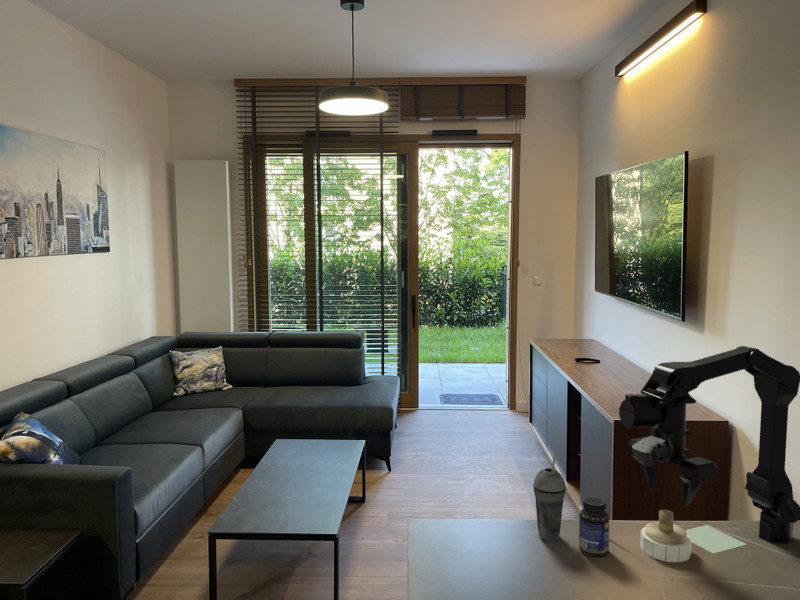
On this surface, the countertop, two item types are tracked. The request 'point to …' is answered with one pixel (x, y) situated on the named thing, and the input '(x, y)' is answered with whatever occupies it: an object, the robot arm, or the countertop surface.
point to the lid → (666, 530)
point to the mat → (713, 539)
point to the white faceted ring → (665, 549)
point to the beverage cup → (549, 501)
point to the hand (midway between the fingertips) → (668, 496)
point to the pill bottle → (594, 527)
